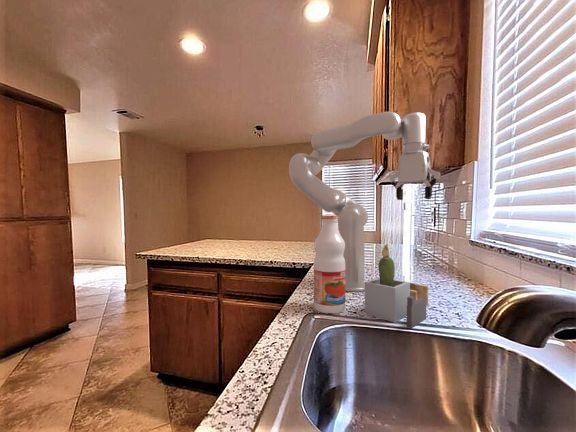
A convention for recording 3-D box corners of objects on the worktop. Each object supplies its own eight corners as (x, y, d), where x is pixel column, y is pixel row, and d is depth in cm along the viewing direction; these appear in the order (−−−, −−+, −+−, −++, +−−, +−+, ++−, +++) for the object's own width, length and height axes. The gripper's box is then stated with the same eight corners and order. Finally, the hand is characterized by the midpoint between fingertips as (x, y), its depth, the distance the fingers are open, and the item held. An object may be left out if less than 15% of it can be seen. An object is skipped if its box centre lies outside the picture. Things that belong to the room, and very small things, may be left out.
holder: (380, 303, 90) (380, 284, 90) (394, 297, 97) (394, 279, 96) (415, 312, 82) (415, 291, 82) (428, 305, 89) (428, 285, 89)
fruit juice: (327, 301, 92) (327, 215, 92) (351, 309, 85) (352, 215, 85) (307, 308, 86) (307, 215, 85) (331, 317, 79) (331, 215, 78)
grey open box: (364, 313, 81) (364, 282, 81) (380, 306, 88) (380, 277, 88) (395, 322, 75) (395, 288, 75) (409, 313, 81) (409, 282, 81)
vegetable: (379, 310, 84) (379, 242, 84) (395, 311, 83) (394, 243, 83) (378, 315, 80) (377, 244, 80) (394, 317, 79) (394, 244, 79)
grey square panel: (406, 327, 72) (406, 297, 72) (421, 317, 78) (421, 290, 78) (411, 328, 71) (411, 298, 71) (426, 318, 78) (426, 291, 77)
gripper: (444, 147, 96) (444, 198, 96) (394, 155, 108) (394, 200, 109) (436, 144, 91) (435, 198, 91) (385, 152, 103) (385, 199, 103)
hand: (413, 199), depth 100 cm, fingers open, 9 cm apart
